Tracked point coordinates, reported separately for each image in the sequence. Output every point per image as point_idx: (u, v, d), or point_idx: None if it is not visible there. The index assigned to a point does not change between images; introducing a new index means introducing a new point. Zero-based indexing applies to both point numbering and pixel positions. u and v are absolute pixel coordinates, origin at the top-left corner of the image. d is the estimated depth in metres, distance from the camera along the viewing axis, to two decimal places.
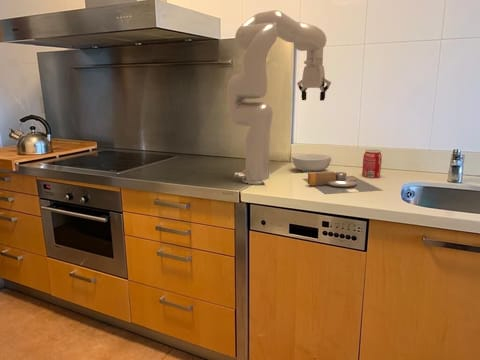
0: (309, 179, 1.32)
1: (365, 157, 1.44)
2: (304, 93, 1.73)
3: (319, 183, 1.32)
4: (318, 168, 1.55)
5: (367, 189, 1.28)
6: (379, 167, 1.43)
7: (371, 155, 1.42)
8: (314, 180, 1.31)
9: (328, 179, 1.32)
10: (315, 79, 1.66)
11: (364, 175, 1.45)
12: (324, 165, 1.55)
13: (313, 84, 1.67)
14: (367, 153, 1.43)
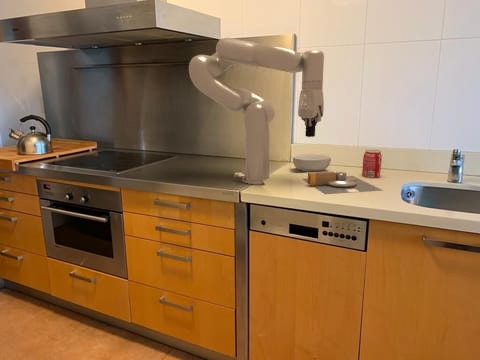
0: (309, 179, 1.32)
1: (365, 157, 1.44)
2: None
3: (319, 183, 1.32)
4: (318, 168, 1.55)
5: (367, 189, 1.28)
6: (379, 167, 1.43)
7: (371, 155, 1.42)
8: (314, 180, 1.31)
9: (328, 179, 1.32)
10: (309, 107, 1.29)
11: (364, 175, 1.45)
12: (324, 165, 1.55)
13: (307, 114, 1.31)
14: (367, 153, 1.43)
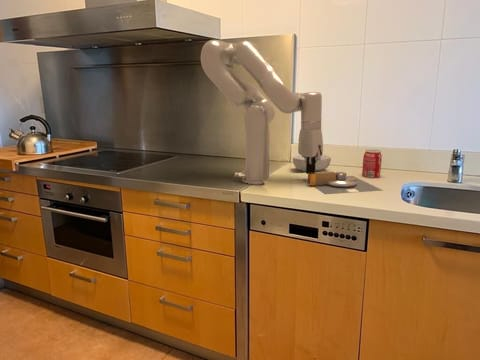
0: (309, 179, 1.32)
1: (365, 157, 1.44)
2: None
3: (319, 183, 1.32)
4: (318, 168, 1.55)
5: (367, 189, 1.28)
6: (379, 167, 1.43)
7: (371, 155, 1.42)
8: (314, 180, 1.31)
9: (328, 179, 1.32)
10: (308, 147, 1.33)
11: (364, 175, 1.45)
12: (324, 165, 1.55)
13: (307, 152, 1.34)
14: (367, 153, 1.43)
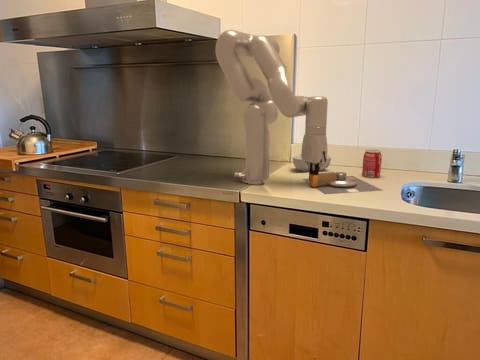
0: (311, 180, 1.30)
1: (365, 157, 1.44)
2: None
3: (321, 184, 1.31)
4: None
5: (367, 189, 1.28)
6: (379, 167, 1.43)
7: (371, 155, 1.42)
8: (316, 181, 1.30)
9: (329, 179, 1.31)
10: (312, 153, 1.29)
11: (364, 175, 1.45)
12: None
13: (310, 158, 1.30)
14: (367, 153, 1.43)
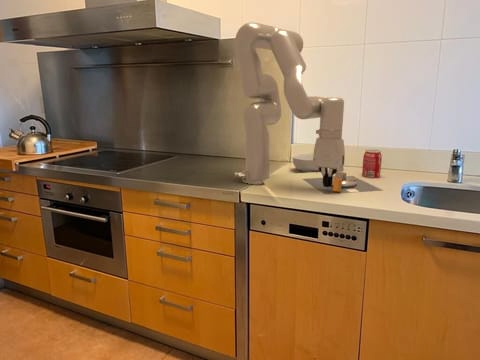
0: (337, 185, 1.23)
1: (365, 157, 1.44)
2: None
3: (341, 187, 1.26)
4: None
5: (367, 189, 1.28)
6: (379, 167, 1.43)
7: (371, 155, 1.42)
8: None
9: (342, 181, 1.29)
10: (332, 158, 1.21)
11: (364, 175, 1.45)
12: None
13: (329, 164, 1.22)
14: (367, 153, 1.43)
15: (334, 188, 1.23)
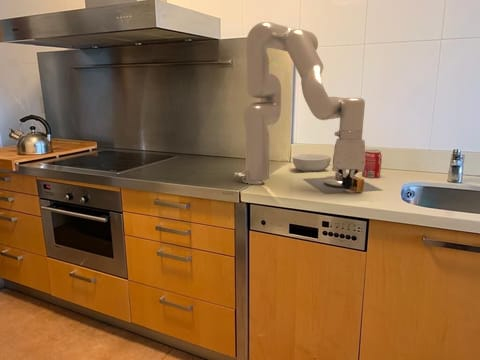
0: (361, 185, 1.23)
1: (365, 157, 1.44)
2: None
3: None
4: (318, 168, 1.55)
5: (367, 189, 1.28)
6: (379, 167, 1.43)
7: (371, 155, 1.42)
8: None
9: None
10: (357, 159, 1.19)
11: (364, 175, 1.45)
12: (324, 165, 1.55)
13: (354, 165, 1.20)
14: (367, 153, 1.43)
15: (358, 188, 1.23)
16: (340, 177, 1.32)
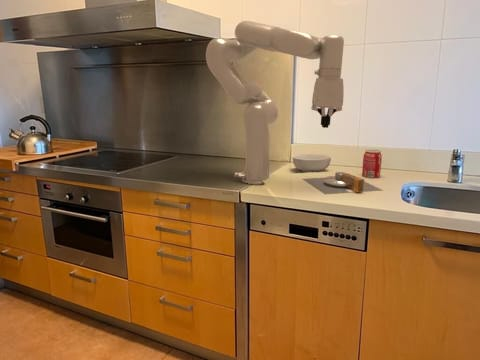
0: (361, 185, 1.23)
1: (365, 157, 1.44)
2: None
3: None
4: (318, 168, 1.55)
5: (367, 189, 1.28)
6: (379, 167, 1.43)
7: (371, 155, 1.42)
8: None
9: None
10: (336, 96, 1.23)
11: (364, 175, 1.45)
12: (324, 165, 1.55)
13: (333, 103, 1.23)
14: (367, 153, 1.43)
15: (358, 188, 1.23)
16: (340, 177, 1.32)
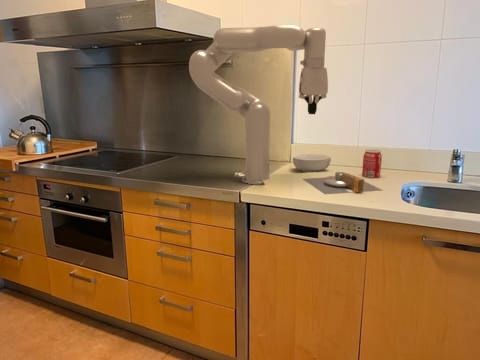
0: (361, 185, 1.23)
1: (365, 157, 1.44)
2: None
3: None
4: (318, 168, 1.55)
5: (367, 189, 1.28)
6: (379, 167, 1.43)
7: (371, 155, 1.42)
8: None
9: None
10: (321, 84, 1.33)
11: (364, 175, 1.45)
12: (324, 165, 1.55)
13: (319, 91, 1.33)
14: (367, 153, 1.43)
15: (358, 188, 1.23)
16: (340, 177, 1.32)
